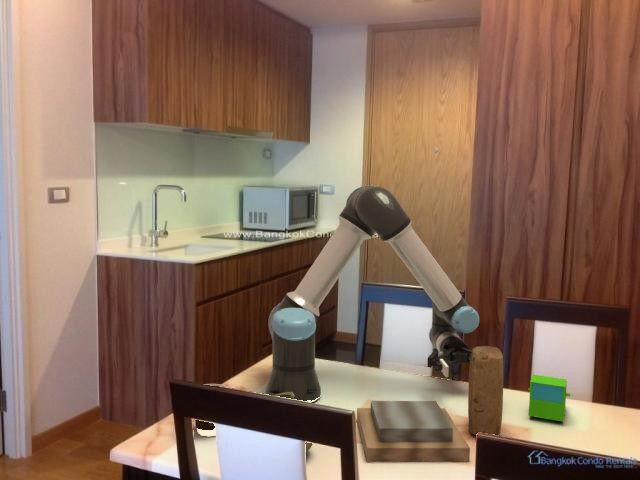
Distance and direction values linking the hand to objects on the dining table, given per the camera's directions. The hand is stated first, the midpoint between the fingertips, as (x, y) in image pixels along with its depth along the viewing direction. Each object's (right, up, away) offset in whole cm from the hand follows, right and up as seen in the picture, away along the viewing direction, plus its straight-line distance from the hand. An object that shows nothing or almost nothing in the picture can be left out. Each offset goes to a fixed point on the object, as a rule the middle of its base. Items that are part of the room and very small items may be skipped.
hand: (473, 371), depth 151 cm
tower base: (-19, -12, -14) cm, 26 cm away
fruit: (-45, -13, -22) cm, 52 cm away
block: (0, -12, -9) cm, 15 cm away
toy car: (+20, -12, +2) cm, 23 cm away
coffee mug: (-64, -12, -11) cm, 66 cm away
